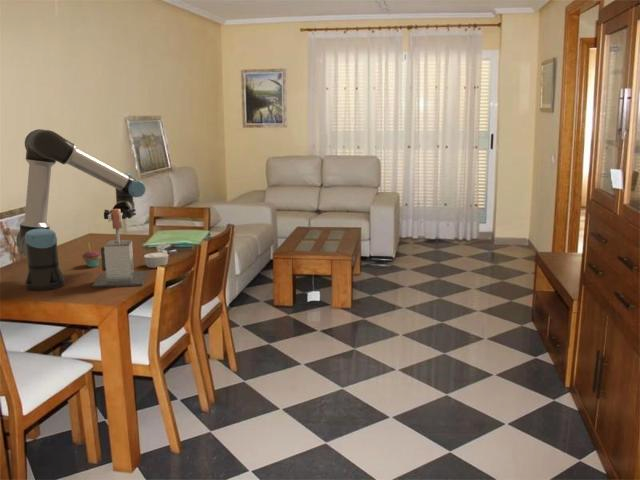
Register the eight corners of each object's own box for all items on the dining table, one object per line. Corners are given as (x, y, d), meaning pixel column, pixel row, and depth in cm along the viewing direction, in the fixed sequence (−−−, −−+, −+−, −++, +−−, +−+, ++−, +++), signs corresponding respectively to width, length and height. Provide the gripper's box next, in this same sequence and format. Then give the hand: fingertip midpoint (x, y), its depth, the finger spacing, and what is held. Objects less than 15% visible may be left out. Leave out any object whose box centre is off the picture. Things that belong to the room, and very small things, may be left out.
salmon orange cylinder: (114, 265, 260) (110, 210, 255) (116, 263, 263) (112, 208, 258) (123, 265, 260) (119, 210, 255) (124, 263, 264) (121, 208, 259)
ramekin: (139, 267, 286) (138, 256, 285) (154, 262, 297) (153, 251, 296) (159, 269, 282) (158, 258, 281) (173, 264, 293) (172, 253, 292)
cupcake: (95, 268, 284) (93, 243, 282) (79, 267, 286) (77, 242, 283) (105, 263, 292) (103, 239, 290) (89, 263, 294) (87, 238, 292)
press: (92, 288, 252) (89, 248, 248) (100, 275, 271) (97, 238, 268) (142, 285, 255) (139, 246, 252) (147, 273, 275) (144, 236, 271)
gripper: (141, 217, 277) (135, 226, 254) (103, 218, 274) (94, 228, 252) (140, 201, 275) (134, 209, 253) (102, 202, 273) (92, 210, 250)
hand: (114, 218), depth 252 cm, fingers closed on salmon orange cylinder, 4 cm apart
